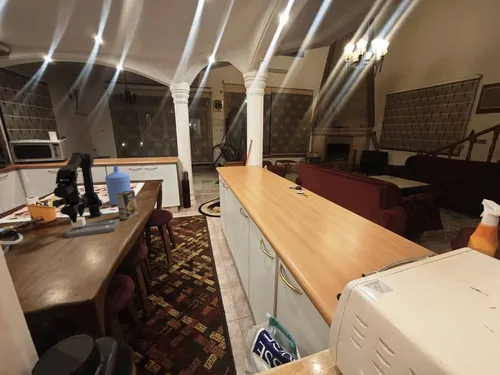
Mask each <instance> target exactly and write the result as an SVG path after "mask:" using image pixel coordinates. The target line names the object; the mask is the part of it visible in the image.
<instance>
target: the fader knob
mask: <svg viewBox="0 0 500 375" xmlns="http://www.w3.org/2000/svg"><path fill="white" fill-rule="evenodd" d="M70 223H71V229H72V228H73V227H78V228H79V227H81V226H84V225H85V224H86V223H87V222H86V217H85V216H79V217H78V216H77V221H76V223H73V222H72V220H71V219H70Z"/></svg>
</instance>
